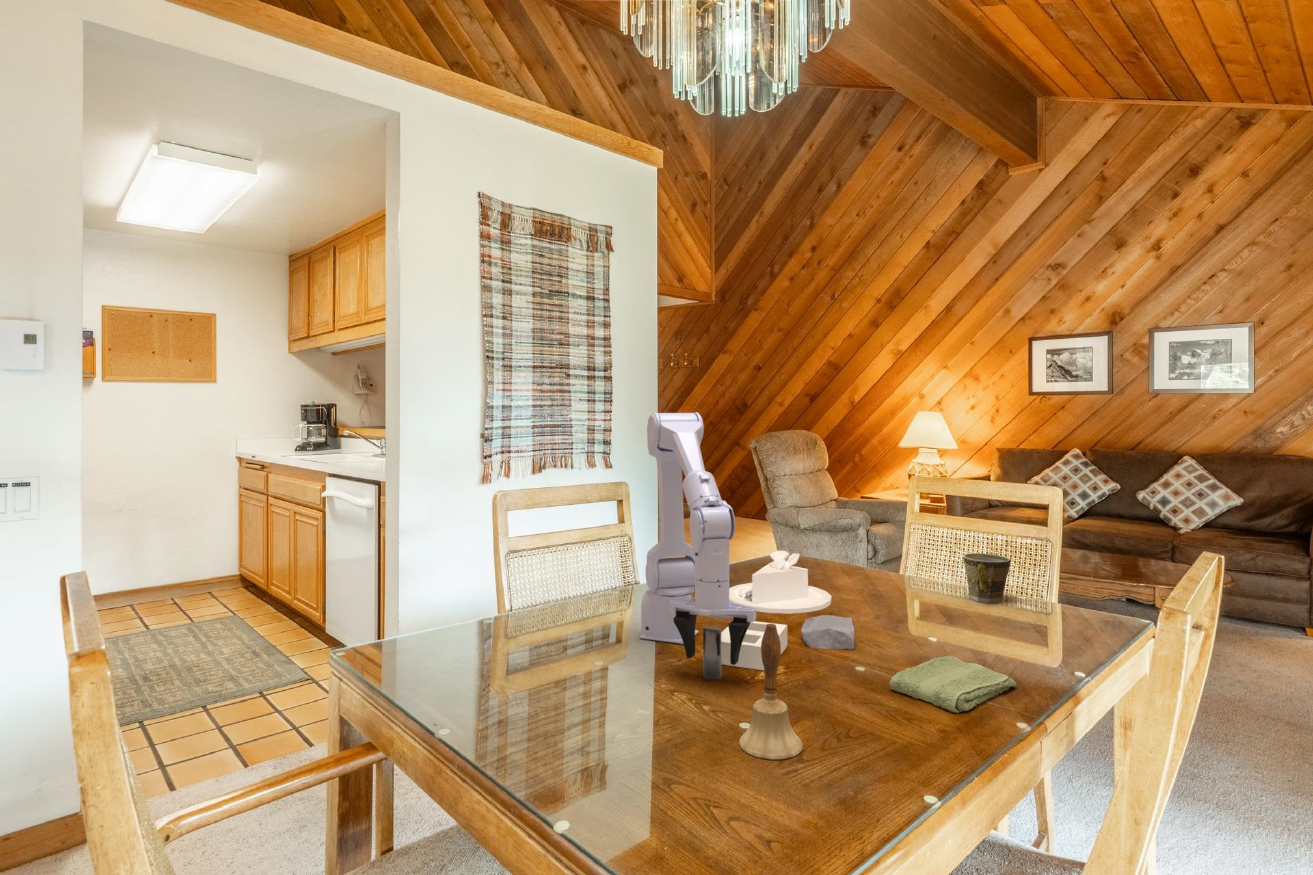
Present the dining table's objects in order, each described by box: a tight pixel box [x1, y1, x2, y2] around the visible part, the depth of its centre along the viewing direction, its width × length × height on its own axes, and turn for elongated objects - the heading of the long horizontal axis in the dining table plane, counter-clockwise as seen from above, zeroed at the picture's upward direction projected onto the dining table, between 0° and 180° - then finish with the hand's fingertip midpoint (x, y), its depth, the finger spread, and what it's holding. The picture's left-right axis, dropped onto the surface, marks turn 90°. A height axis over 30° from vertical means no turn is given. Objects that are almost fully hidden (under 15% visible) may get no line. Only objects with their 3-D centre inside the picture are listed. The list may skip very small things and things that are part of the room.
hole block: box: [721, 620, 788, 672], centre depth 128 cm, size 10×14×4 cm
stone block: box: [800, 614, 855, 651], centre depth 136 cm, size 12×5×10 cm
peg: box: [702, 625, 722, 681], centre depth 117 cm, size 3×3×8 cm
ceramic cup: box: [962, 552, 1011, 604], centre depth 163 cm, size 13×10×10 cm
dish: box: [729, 550, 832, 614], centre depth 166 cm, size 25×25×11 cm
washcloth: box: [888, 655, 1017, 714], centre depth 112 cm, size 13×18×3 cm
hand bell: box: [738, 623, 804, 760], centre depth 92 cm, size 8×8×16 cm
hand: (712, 659), depth 117 cm, fingers open, 7 cm apart
